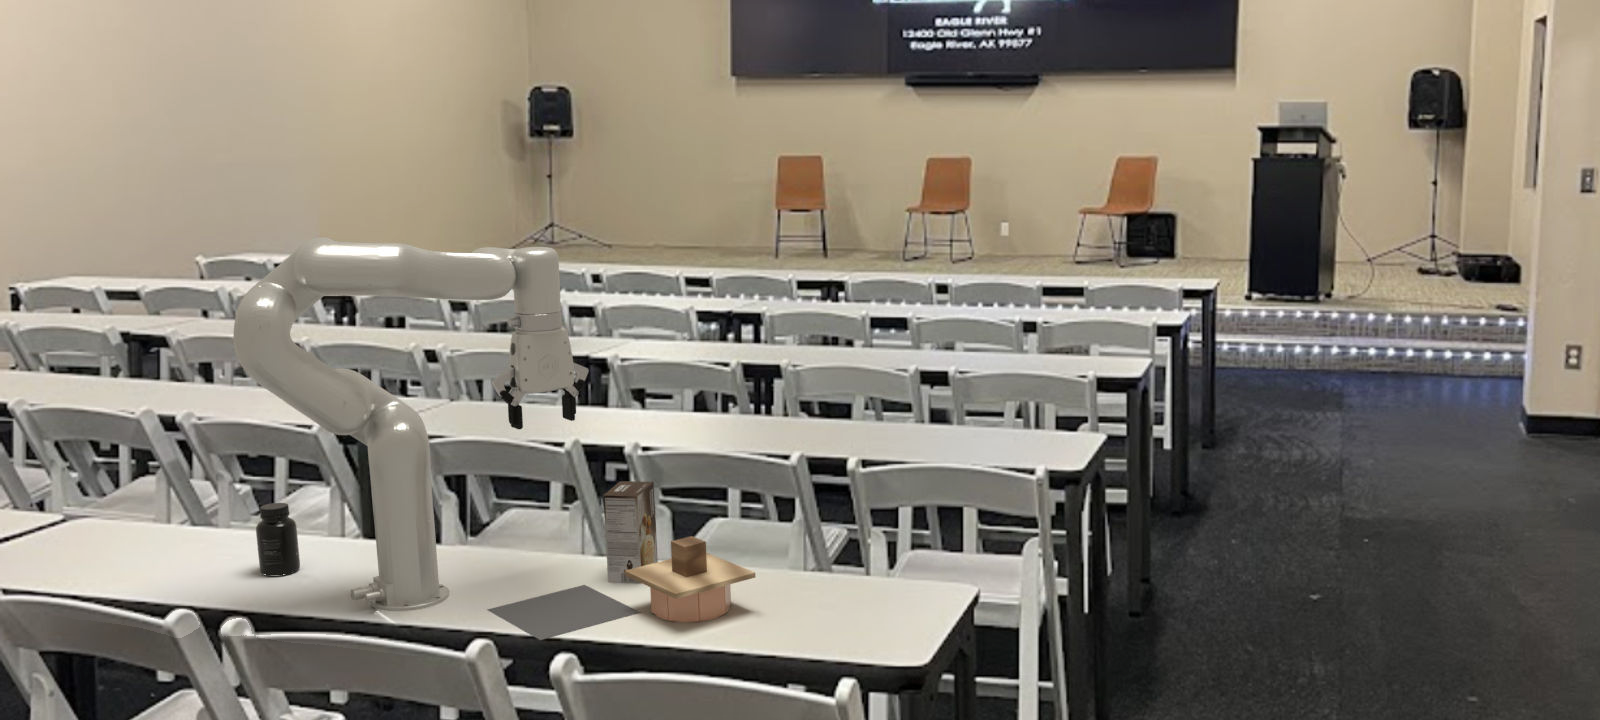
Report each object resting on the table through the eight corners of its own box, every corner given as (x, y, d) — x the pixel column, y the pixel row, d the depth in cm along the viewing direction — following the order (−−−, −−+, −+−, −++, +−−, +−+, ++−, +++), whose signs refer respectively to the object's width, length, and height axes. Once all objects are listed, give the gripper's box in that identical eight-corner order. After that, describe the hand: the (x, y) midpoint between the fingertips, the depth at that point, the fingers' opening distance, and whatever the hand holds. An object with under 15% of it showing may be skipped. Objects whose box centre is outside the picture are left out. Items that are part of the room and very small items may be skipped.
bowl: (680, 631, 237) (679, 594, 236) (639, 611, 246) (638, 575, 245) (743, 613, 244) (742, 577, 243) (701, 594, 254) (700, 559, 252)
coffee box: (624, 568, 268) (619, 479, 265) (659, 570, 267) (654, 480, 264) (607, 586, 259) (602, 494, 256) (643, 587, 258) (638, 495, 255)
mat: (540, 643, 233) (540, 639, 233) (487, 613, 248) (487, 609, 247) (641, 615, 244) (641, 612, 244) (584, 588, 258) (584, 584, 258)
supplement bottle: (308, 568, 273) (302, 503, 271) (277, 579, 267) (271, 513, 265) (283, 562, 277) (277, 498, 274) (251, 573, 271) (245, 508, 269)
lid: (676, 599, 234) (674, 562, 233) (624, 575, 246) (623, 540, 244) (755, 577, 243) (754, 542, 242) (702, 555, 254) (701, 522, 253)
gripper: (500, 330, 244) (505, 435, 248) (595, 319, 255) (599, 420, 258) (480, 325, 250) (485, 427, 254) (573, 314, 261) (578, 412, 264)
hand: (543, 423), depth 256 cm, fingers open, 9 cm apart
